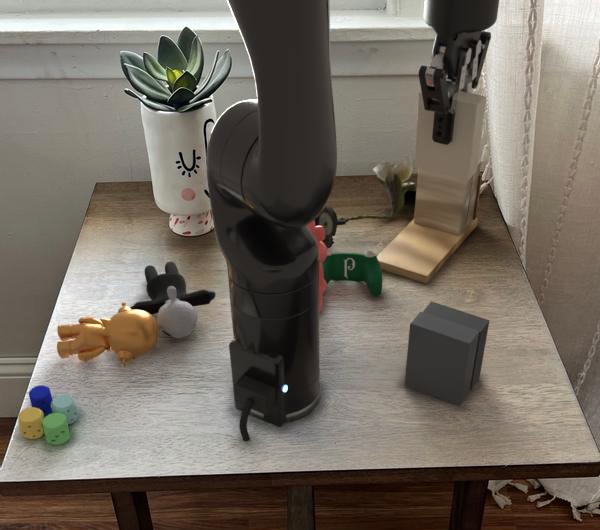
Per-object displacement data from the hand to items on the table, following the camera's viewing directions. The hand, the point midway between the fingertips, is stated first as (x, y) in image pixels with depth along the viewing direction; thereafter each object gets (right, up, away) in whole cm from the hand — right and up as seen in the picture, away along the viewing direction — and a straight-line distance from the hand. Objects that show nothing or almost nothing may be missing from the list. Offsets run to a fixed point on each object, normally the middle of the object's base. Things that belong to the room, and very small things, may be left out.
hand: (447, 136), depth 94 cm
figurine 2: (-33, -19, +12) cm, 40 cm away
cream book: (0, -3, +3) cm, 4 cm away
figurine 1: (-46, -23, +4) cm, 52 cm away
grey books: (0, -28, +1) cm, 28 cm away
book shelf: (+1, -8, +23) cm, 24 cm away
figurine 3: (-16, -18, +13) cm, 27 cm away
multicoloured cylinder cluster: (-42, -30, -2) cm, 52 cm away
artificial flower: (-6, -3, +29) cm, 29 cm away
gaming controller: (-11, -15, +16) cm, 24 cm away
